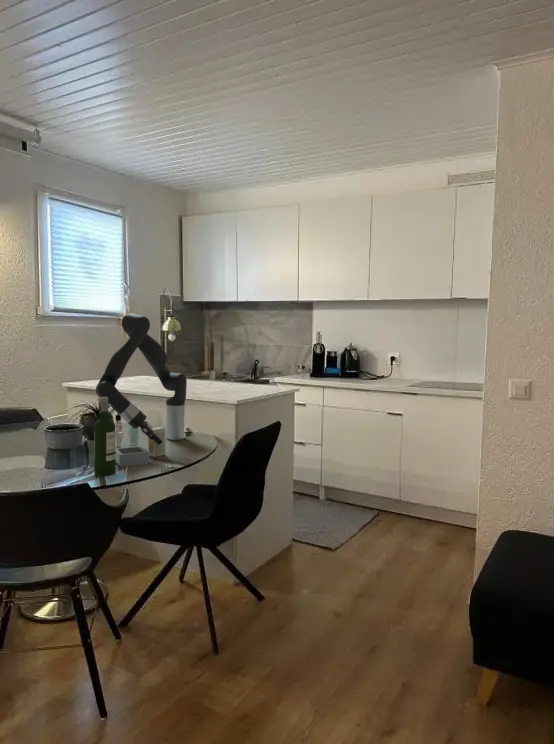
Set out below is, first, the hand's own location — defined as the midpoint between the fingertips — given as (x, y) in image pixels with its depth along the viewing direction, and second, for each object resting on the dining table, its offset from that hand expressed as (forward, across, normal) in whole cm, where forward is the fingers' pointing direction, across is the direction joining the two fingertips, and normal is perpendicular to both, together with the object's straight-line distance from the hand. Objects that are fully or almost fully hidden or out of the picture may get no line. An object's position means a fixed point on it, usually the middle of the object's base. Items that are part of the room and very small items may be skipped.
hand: (160, 441), depth 239 cm
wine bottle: (-11, -24, +20) cm, 33 cm away
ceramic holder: (-5, -9, +13) cm, 17 cm away
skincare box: (+3, 0, +6) cm, 7 cm away
